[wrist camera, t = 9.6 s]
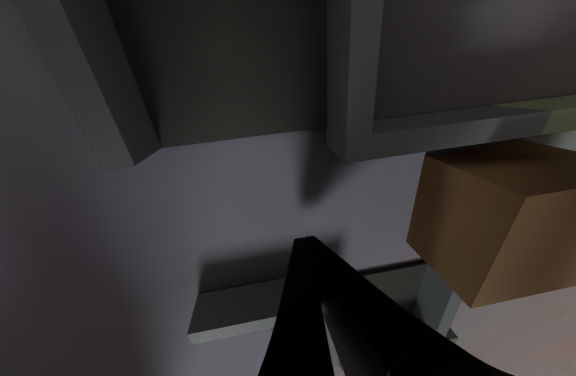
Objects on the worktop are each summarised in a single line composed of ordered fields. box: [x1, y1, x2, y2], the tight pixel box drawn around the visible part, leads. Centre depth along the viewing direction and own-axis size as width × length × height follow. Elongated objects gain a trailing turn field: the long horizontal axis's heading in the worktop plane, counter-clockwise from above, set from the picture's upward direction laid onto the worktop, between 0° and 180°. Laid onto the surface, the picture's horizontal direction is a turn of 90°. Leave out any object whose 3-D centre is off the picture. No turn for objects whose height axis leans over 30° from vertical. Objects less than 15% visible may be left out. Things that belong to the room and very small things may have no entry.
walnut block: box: [406, 141, 576, 308], centre depth 9 cm, size 5×5×4 cm
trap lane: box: [13, 0, 576, 371], centre depth 9 cm, size 21×20×3 cm
